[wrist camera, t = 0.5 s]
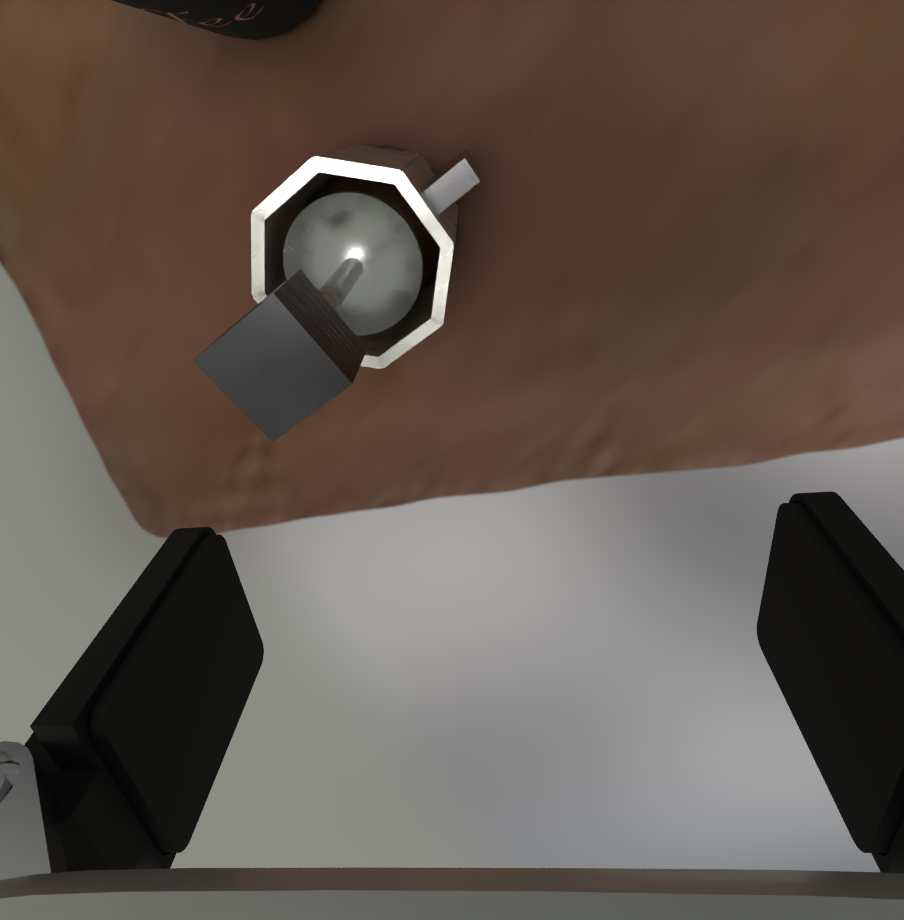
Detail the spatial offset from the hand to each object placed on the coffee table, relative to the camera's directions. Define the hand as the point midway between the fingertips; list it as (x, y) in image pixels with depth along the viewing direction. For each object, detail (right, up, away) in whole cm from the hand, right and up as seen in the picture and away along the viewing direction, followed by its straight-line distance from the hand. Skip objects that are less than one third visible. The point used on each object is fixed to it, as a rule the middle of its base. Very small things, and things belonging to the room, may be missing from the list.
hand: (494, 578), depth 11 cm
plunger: (-5, +11, +20) cm, 23 cm away
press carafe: (-4, +17, +28) cm, 34 cm away
